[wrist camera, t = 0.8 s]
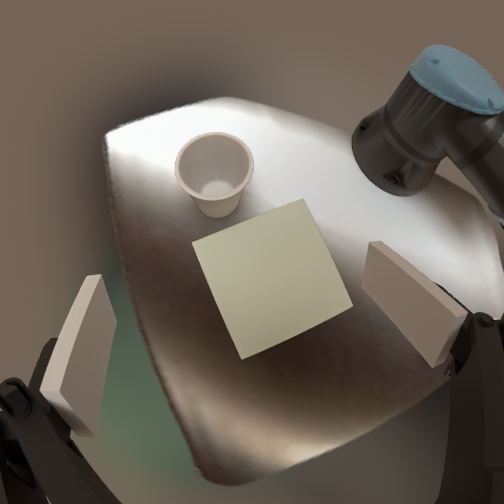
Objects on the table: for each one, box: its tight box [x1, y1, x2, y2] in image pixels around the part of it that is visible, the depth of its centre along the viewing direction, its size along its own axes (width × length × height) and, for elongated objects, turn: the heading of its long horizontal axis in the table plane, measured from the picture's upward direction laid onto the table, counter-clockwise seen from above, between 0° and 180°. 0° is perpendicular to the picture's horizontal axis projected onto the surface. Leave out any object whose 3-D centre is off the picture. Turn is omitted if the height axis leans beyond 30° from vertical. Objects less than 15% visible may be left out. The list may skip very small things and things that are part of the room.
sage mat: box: [192, 199, 353, 359], centre depth 37 cm, size 16×16×1 cm
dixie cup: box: [175, 132, 254, 218], centre depth 34 cm, size 8×8×10 cm
